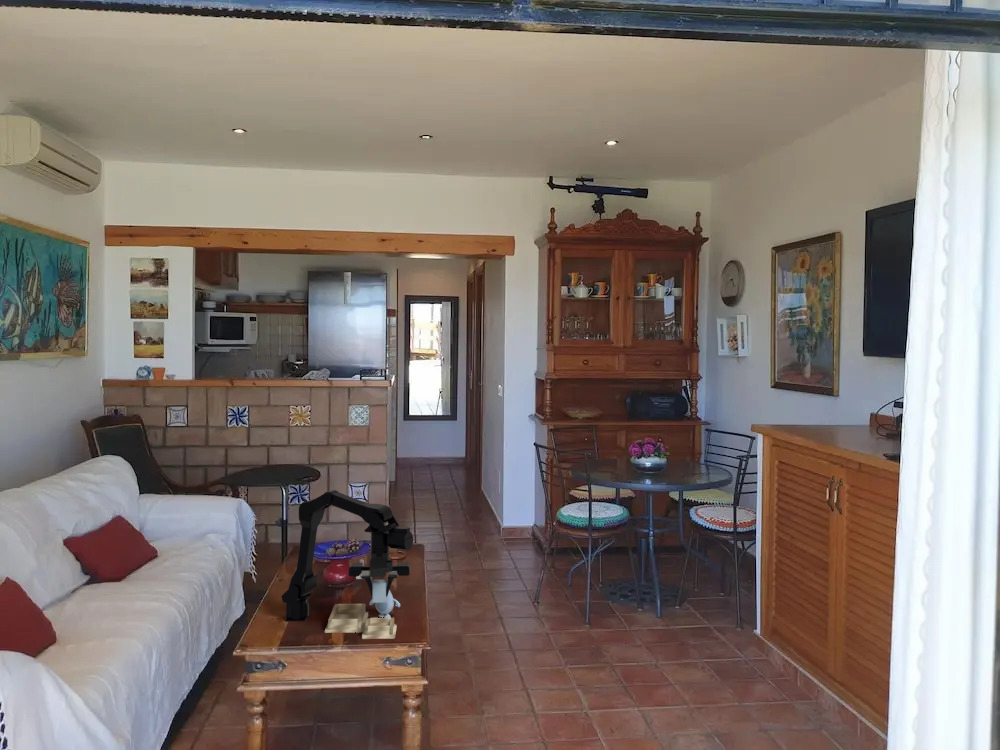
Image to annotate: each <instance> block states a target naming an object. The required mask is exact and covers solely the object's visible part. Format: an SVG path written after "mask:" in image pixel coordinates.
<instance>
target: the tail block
mask: <svg viewBox="0 0 1000 750" xmlns="http://www.w3.org/2000/svg"><path fill="white" fill-rule="evenodd" d="M387 581H388V578H387V579H381V578H380V579H379V578H377V579H375V578H374V579H373V597H372V599H373V603H374V604H375V603H379V602H386V598H387V597H386V588H387Z"/></svg>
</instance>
